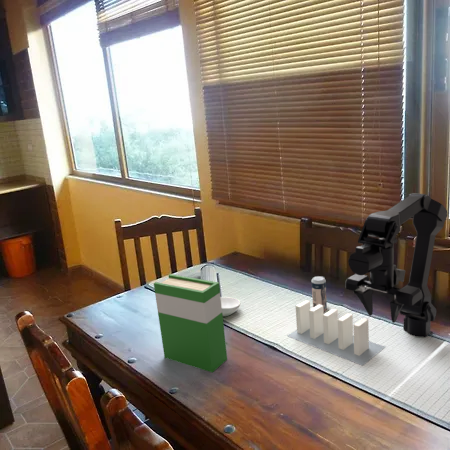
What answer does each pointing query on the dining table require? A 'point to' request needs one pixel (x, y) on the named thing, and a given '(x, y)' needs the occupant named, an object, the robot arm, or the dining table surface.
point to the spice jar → (319, 291)
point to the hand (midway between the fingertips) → (382, 318)
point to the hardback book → (191, 321)
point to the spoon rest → (229, 305)
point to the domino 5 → (361, 336)
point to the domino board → (334, 347)
